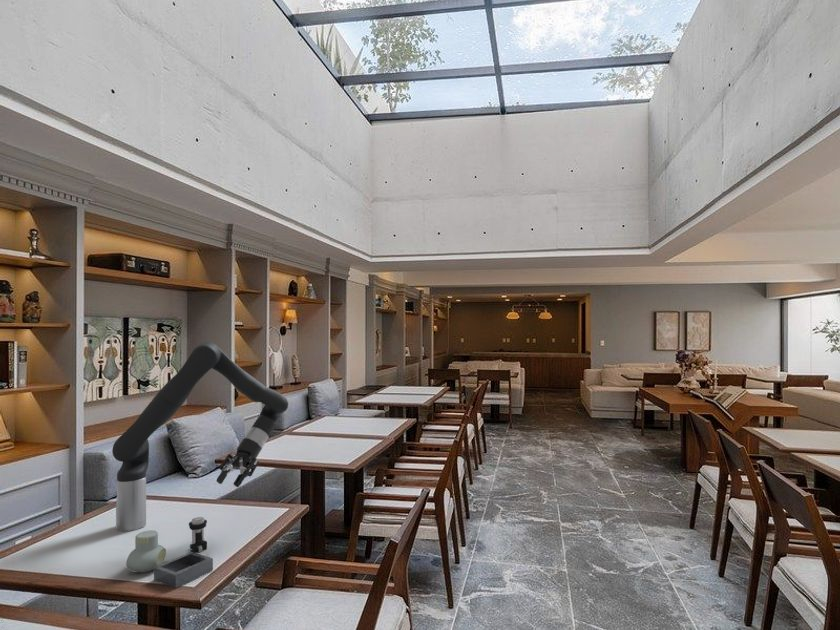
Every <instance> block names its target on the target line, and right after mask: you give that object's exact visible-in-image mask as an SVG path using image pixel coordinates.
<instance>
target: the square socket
mask: <svg viewBox="0 0 840 630" xmlns="http://www.w3.org/2000/svg"><path fill="white" fill-rule="evenodd" d="M188 552H189V553H188ZM188 552H186V553H187V554H186V553H185V554H183V555H180V556H178V557H175V558H172V559H170V560H168V561H166V562H163V563H162V564H161V565H159V566H156V567H154V570H153V581H156V582H158V583H160V584H163V585H166V586H168V587H171V588H174V589H178V588H180V587H182V586H184V585H186V584H188V583H190V582H192V581H194V580H196V579H199V578H201V577H203V576H204V574H205V575H207V574H209V573H211V572H213V571H214V558H212V557H210V556H208V555H203V554H200V553H194V552H190V551H188ZM212 570H213V571H212ZM210 571H211V572H210ZM208 572H209V573H208ZM206 573H207V574H206ZM202 575H203V576H202ZM200 576H201V577H200Z"/></svg>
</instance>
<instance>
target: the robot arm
mask: <svg viewBox="0 0 840 630" xmlns="http://www.w3.org/2000/svg"><path fill="white" fill-rule="evenodd" d="M211 369H212V370H214V371H216V372H218V373H219V374H220V375H222V376H223V377H224V378H225V379H227V380H228V382H229V383H230V384H231V385H232V386H233V387H234V388H235V389H237V391H239V392H240V393H241V394H243V396H245V397H246V398H247V399H249V400H250V401H252V402H253V403H261V404H263V407H262V409H261V411H260V412H259V415H258V417H257V418H256V419H255V421H254V423H253V424H252V426H251V427H250V429H248V431H247V432H246V434H245V436H244V437H243V439H242V440H241V441H240V443H239V445H238V446H237V448H236V453H235V455H232V454H231V453H228V454H227V456H226V457H225V459H224V460H223V461H222V462H221V464H220V465H219V467H218V469H219V470H220V471H221V472H220V473H219V475H218V477H217V478H216V482H217V483H218V484H219V485H221V484H223V483H224V481H225V479H226V477H227V476H228V474H229V473H231V472H234V471H236V470H239V473H240V474H238V475H237V477H236V479H235V480H234V482H233V486H234V487H236V488H239V487H240V486H241V485H242V483H243V482H244V480H245V479H246V478H247V477H252V476H253V474H254V472H255V470H256V469H257V467H258V465H259V463H260V461H259V460H258V459H257V458H258V456H259V454H260V452H261V451H262V450H263V448H264V446H265V444H266V442H267V440H268V438H269V437H270V435H271V433H272V432H273V429H274V428H275V424H276V422H277V421H278V419H279V417H280V416H281V415H282V414H283V413H285V412H286V411H287V409H288V408H289V401H288V399H287V397H286V396H285V395H283V394H282V393H280V392H278V391H276V390H274V389H272V388H271V387H267V386H265V385H264V384H263V383H262V382H261V381H259V380H257V378H255V377H254V376H252V375H251V374H249V373H248V372H247V371H245V370H244V369H242V368H241V367H240V366H239V365H238V364H237V363H235V362H234V361H233V360H232V359H231V358H230V357H229V356H228V355H227V354H226V353H225V352H224V351H223V350H222V349H221V347H219V346H218V345H217V344H215V343H214V342H210V341H205V342H202V343H201V344H198V345H197V346H196V347H194V349H193V350H192V351H191V353H190V355H189V356H188V358H187V359H186V360H185V362H184V364H183V365H182V367H181V368H180V370H179V371H177V373H176V374H175V375H173V377H171V378H170V380H168V381H167V382H166V383H165V384H164V386H162V387H161V389H160V390H159V391H158V392H157V393H156V395H155V396H154V397H153V398H152V399H151V401H150V402H149V403H148V405H147V406H146V407H145V408H144V410H142V412H141V413H140V415H139V416H138V417H137V419H136V420H135V421H134V422H133V423H132V424H131V425H130V426H129V427H128V428H127V429H126V430H125V431H124V432H123V433H122V434H121V435H120V436H119V437H118V438H117V439H116V440H115V442H114V443H113V445H112V451H111V452H112V453H111V454H112V456H113V458H114V459H115V460H116V461H118V462H121V463H122V464H121V467H120V468H119V469H118V471H117V473H116V501H115V517H116V518H115V526H116V531H117V530H118V531H119V532H129V531H130V532H131V531H136V530H138V529H141V528H143V526H144V527H145V526H146V525H147V471H148V468H149V461H150V460H149V459H150V442H149V437H151V436H152V434H154V432H156V431H157V430H158V429H159V428H161V427H162V426H163V425H164V424H165V423H166V422H168V421H169V420H170V419H172V417H173V416H175V414H176V413H177V412H178V411H179V410H180V408H181V407H182V405H184V403H185V402H186V401H187V399H188V398H189V396H190V394H191V393H192V391H193V389H194V387H195V386H196V384H197V383H198V382H199V381H200V380H201V379H202V378H203V377H204V376H205V375H206V374H207V373H209V371H210V370H211Z"/></svg>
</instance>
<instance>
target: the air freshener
mask: <svg viewBox="0 0 840 630" xmlns="http://www.w3.org/2000/svg"><path fill="white" fill-rule="evenodd" d="M158 534H159V532H158V531H156V530H145V531H141V532H139V533H137V534H136V535H135V537H134V538H135V539H134V540H135V543H134V544H135V548H134V549H133V550H132V551H131V552H130V553H129V555H128V557H127V558H126V563H125V564H126V568H127V569H128V570H130V571H132V572H134V573H146V572H151V571H154V567H156V566H159V565H161V564H163V563H165V562H164V561H165V560H166V557H167V556H166V555H167V549H166V548H165V547H164V546H163V545H161V544H159V535H158Z"/></svg>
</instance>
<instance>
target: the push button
mask: <svg viewBox="0 0 840 630" xmlns="http://www.w3.org/2000/svg"><path fill="white" fill-rule="evenodd" d="M207 523H208V521H207V519H205V517H202V516H199V517H194V518H192V519H191V521H190V522H189V523H188V526H189V529H190V530H191V542H190V544H189V548H188V549H186V550H185V552H186V553H185V554H187V553H189V552H194V553H197V554H199V553H200V552H201V553H202V552H203V551H206V550H207V549H208V541H206V540H205V535H204V534H205V530H204V529H205V528H206V527H207Z"/></svg>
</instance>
